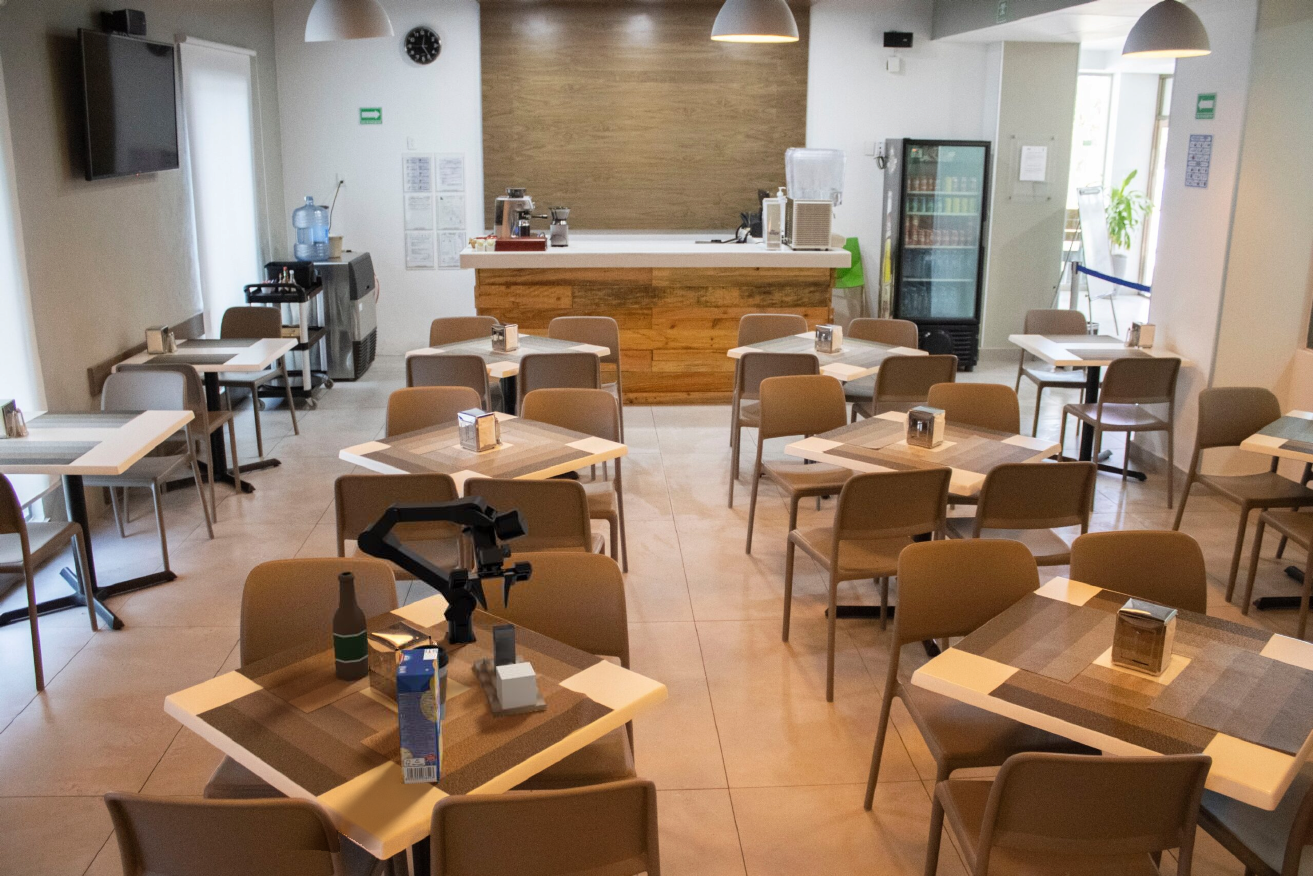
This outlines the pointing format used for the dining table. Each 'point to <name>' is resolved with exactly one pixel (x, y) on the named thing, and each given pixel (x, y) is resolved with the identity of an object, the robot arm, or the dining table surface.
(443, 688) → the coffee cup
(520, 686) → the socket
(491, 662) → the rail
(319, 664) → the dining table surface
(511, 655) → the dark grey rectangular block
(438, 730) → the beverage box
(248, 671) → the dining table surface
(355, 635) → the beer bottle
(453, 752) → the dining table surface
